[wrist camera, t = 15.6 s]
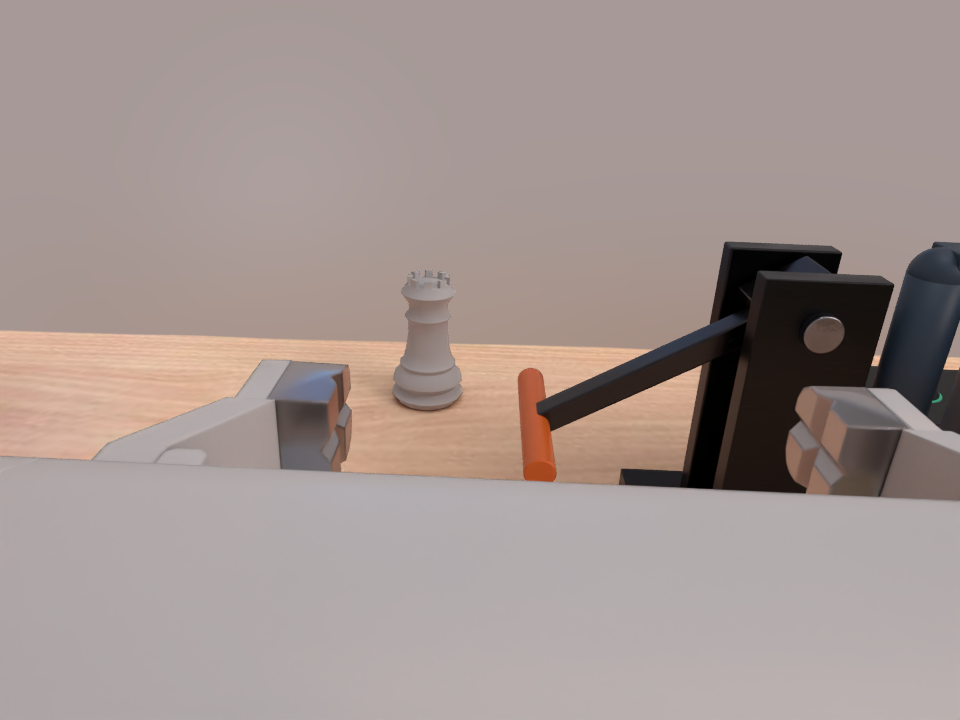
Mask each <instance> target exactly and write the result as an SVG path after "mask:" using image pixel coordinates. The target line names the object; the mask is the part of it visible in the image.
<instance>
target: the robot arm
mask: <svg viewBox="0 0 960 720" xmlns="http://www.w3.org/2000/svg"><path fill="white" fill-rule="evenodd" d="M350 389H351V383H350V371H349V367H348V365H344V364H329V363H313V362H297V361H291V360H262V361H261V362H260V363H259V365H258V366H257V368H256V369H255V370H254V372H253V373H252V374H251V376H250V377H249V379H248V380H247V381H246V383H245V384H244V385H243V387H242V388H241V390H240V391H239V392H238V394H237V395H236V396H235V398H231V397H226V398H223V399H221V400H218V401H215V402H213V403H210V404H208V405H205V406H202V407H200V408H197V409H195V410H192V411H189V412H187V413H184V414H182V415H179V416H176V417H174V418H171V419H169V420H166V421H164V422H161V423H158V424H156V425H153V426H151V427H148V428H145V429H143V430H140V431H138V432H135V433H132V434H130V435H127V436H125V437H122V438H119V439H117V440H114V441H112V442H109V443H107V444H106V445H105V446H104V447H103V448H102V449H101V450H100V451H99V452H98V453H97V454H96V456H95V457H94V458H93V459H92V460H78V459H57V458H36V457H14V456H0V720H960V434H957V433H954V432H952V431H942V430H941V429H940V428H939V427H937V426H936V425H935V424H934V423H933V422H932V421H931V420H929V419H928V418H927V417H926V416H925V415H924V414H923V413H921V412H920V411H919V410H918V409H917V408H916V407H915V406H913V405H912V404H911V403H910V402H909V401H908V400H907V399H905V398H904V397H903V396H902V395H901V394H900V393H899V392H897V391H896V390H894V389H889V388H865V387H832V386H809V387H805V388H803V389H802V391H801V393H800V395H799V396H798V400H797V403H796V407H795V411H796V412H797V414H798V416H799V418H800V420H801V421H800V422H799V423H797V424H796V425H795V426H794V427H793V428H792V429H791V430H790V431H789V434H788V439H787V444H786V463H787V467H788V470H789V473H790V474H791V476H792V478H793V479H794V481H795V482H797V483H799V484H801V485H802V486H804V487H806V488H807V490H806V494H802V493H780V492H759V491H738V490H716V489H695V488H674V487H653V486H631V485H610V484H589V483H567V482H546V481H525V480H503V479H482V478H461V477H439V476H418V475H397V474H375V473H354V472H341V463H342V462H344V461H345V460H346V459H347V456H348V453H349V448H350V442H351V434H352V410H351V409H350V408H349V407H348V405H347V404H346V403H345V402H346V399H347V397H348V394H349V392H350Z"/></svg>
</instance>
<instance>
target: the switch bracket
mask: <svg viewBox="0 0 960 720" xmlns="http://www.w3.org/2000/svg"><path fill="white" fill-rule="evenodd" d="M805 256H808V257H809V258H811V259H812V260H813V261H815V262H816V263H818V264H819V265H821V266H822V267H823V268H825V269H826V270H828V271H829V272H830V273H831V274H825V273H801V272H778V271H774V270H777V269H779V268H781V267H783V266H785V265H787V264H790V263H792V262H794V261H796V260H798V259H800V258H803V257H805ZM841 256H842V252H840V251H839V250H837V249H835V248H834V247H832V246H819V245H794V244H772V243H771V244H770V243H748V242H747V243H746V242H725V243H724V248H723V254H722V259H721V265H720V270H719V276H718V281H717V287H716V292H715V298H714V303H713V309H712V315H711V320H710V324H712V323H714V322H717V321H719V320H721V319H723V318H725V317H728V316H730V315H732V314H734V313H736V312H739V311H741V310H743V309H745V308H746V306H745V303H744V301H743V298H742V296H741V293H740V291H739V287H740V286H742V285H744V284H746V283H748V282H750V281H753V280H755V279H756V281H755V286H754V290H753V295H752V300H751V305H750V310H749V315H748V320H747V324H746V329H745V334H744V339H743V344H742V347H741V348H739V349H737V350H734V351H732V352H730V353H728V354H725V355H723V356H721V357H719V358H716V359H714V360H712V361H709V362H707V363H705V364H703V365H702V369H701V374H700V380H699V385H698V390H697V396H696V401H695V407H694V412H693V418H692V423H691V429H690V434H689V440H688V445H687V451H686V456H685V461H684V467H683V471H667V470H644V469H621V473H620V480H619V485H631V486H653V487H674V488H695V489H716V490H738V491H759V492H780V493H802V494H806V490H807V488H806V487H804V486H802V485H801V484H799V483H797V482H795V481H794V479H793V478H792V476H791V474H790V473H789V470H788V467H787V463H786V444H787V439H788V434H789V431H790V430H791V429H792V428H793V427H794V426H795V425H796V424H797V423H799V422H800V421H801V420H800V418H799V416H798V414H797V412H796V411H795V407H796V403H797V400H798V396H799V395H800V393H801V391H802V389H803V388H805V387H809V386H832V387H865V385H866V381H867V378H868V374H869V371H870V367H871V364H872V361H873V357H874V354H875V350H876V347H877V343H878V340H879V337H880V333H881V329H882V326H883V323H884V319H885V316H886V312H887V309H888V306H889V302H890V299H891V295H892V292H893V288H894V284H893V283H891V282H890V281H888V280H886V279H885V278H883V277H882V276H872V275H871V276H870V275H849V274H848V275H847V274H837V272H838V268H839V264H840V260H841Z"/></svg>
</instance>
